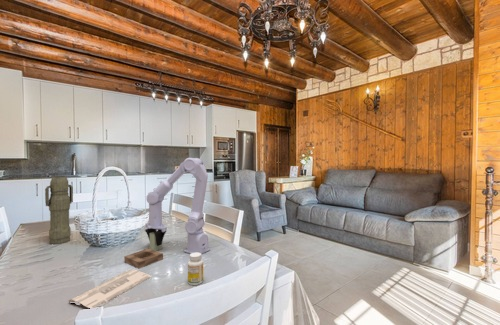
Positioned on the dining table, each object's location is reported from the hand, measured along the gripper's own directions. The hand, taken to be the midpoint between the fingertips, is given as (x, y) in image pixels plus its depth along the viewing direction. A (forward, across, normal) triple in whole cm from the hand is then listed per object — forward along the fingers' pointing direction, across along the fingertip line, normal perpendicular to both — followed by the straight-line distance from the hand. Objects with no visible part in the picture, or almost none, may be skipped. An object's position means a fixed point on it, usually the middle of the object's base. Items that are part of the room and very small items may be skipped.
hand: (155, 244), depth 115 cm
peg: (+2, 0, 0) cm, 2 cm away
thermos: (+3, -53, -22) cm, 57 cm away
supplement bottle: (+3, +40, -11) cm, 42 cm away
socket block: (+2, +8, -11) cm, 14 cm away
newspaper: (+3, +20, -30) cm, 36 cm away
